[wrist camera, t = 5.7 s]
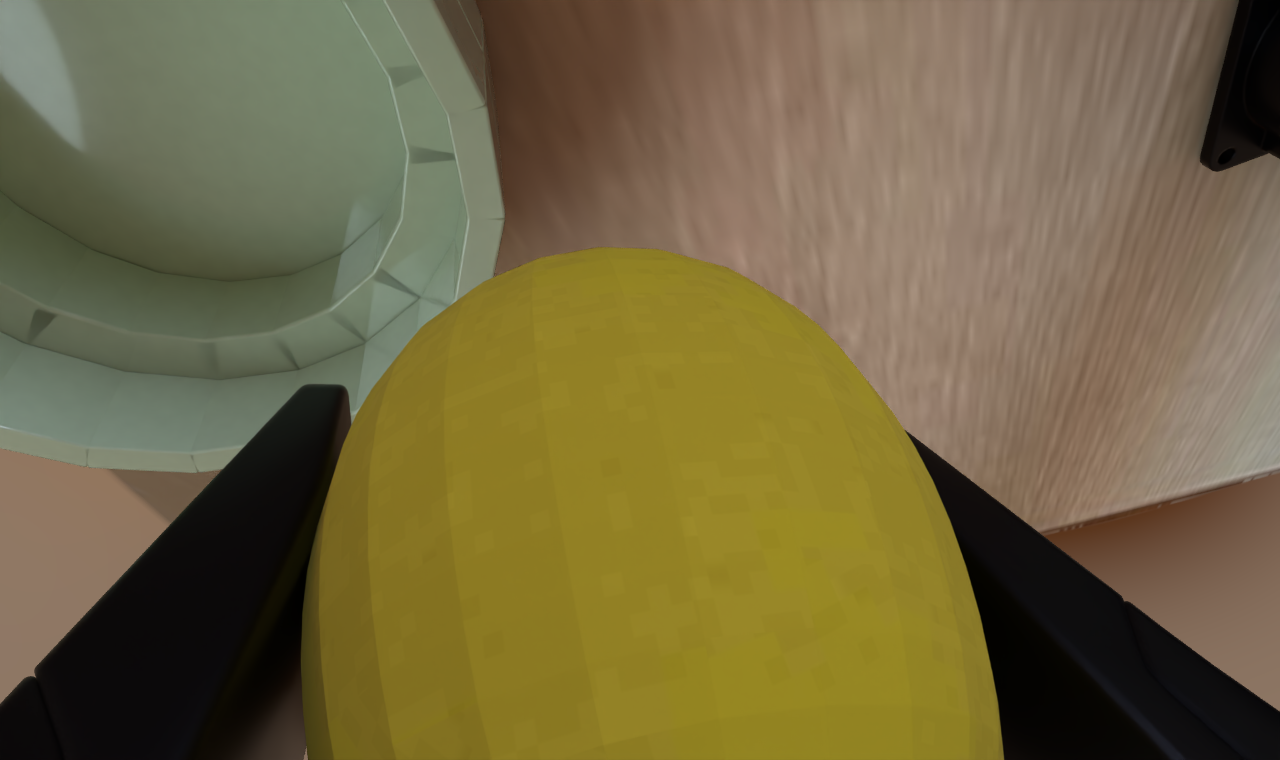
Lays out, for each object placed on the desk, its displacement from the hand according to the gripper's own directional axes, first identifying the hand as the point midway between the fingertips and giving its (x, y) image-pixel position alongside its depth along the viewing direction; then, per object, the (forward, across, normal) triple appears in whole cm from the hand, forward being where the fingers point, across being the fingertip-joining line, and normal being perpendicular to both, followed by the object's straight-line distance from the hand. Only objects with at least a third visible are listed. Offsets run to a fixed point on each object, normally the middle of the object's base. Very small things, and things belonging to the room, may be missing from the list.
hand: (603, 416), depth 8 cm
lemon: (+2, 0, 0) cm, 2 cm away
